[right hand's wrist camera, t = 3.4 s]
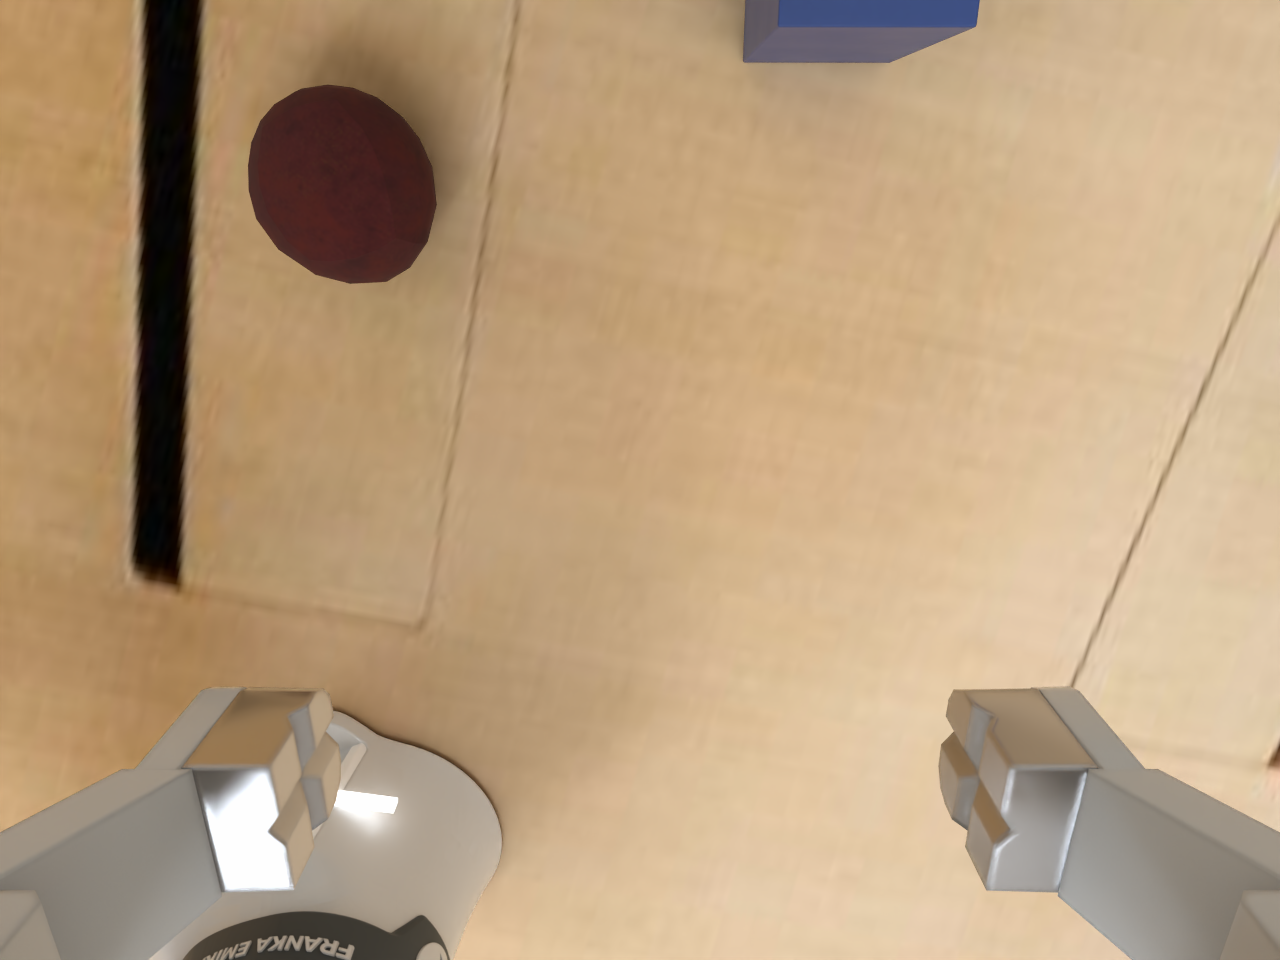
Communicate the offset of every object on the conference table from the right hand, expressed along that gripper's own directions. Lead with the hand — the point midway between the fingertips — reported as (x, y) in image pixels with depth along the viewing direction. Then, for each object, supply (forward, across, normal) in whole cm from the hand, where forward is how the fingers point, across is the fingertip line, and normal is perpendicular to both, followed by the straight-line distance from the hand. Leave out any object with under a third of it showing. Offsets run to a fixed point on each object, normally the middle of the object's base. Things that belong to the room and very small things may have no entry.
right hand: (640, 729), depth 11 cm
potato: (+30, +12, -6) cm, 33 cm away
